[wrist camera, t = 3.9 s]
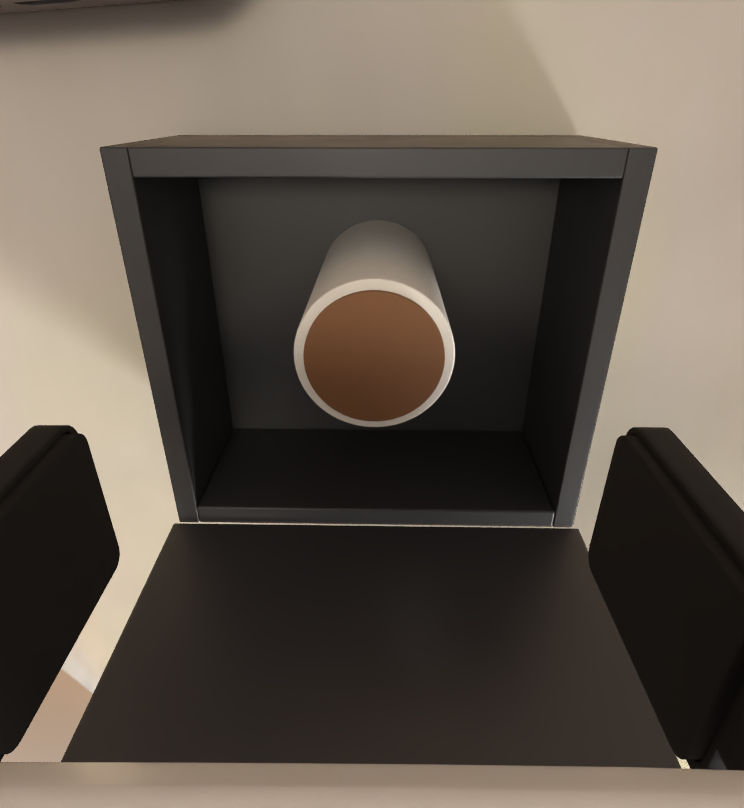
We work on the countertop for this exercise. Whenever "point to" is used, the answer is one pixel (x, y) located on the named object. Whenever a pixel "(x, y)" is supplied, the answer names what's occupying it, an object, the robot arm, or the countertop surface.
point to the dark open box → (460, 290)
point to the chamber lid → (371, 653)
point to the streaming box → (59, 4)
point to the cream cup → (375, 329)
